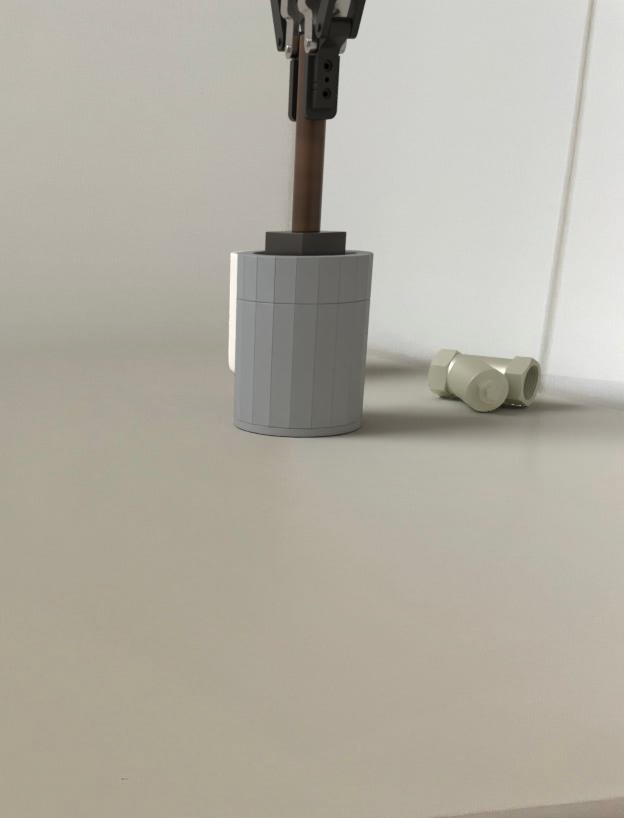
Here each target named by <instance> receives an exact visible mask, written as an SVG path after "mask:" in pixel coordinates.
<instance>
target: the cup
mask: <svg viewBox="0 0 624 818" xmlns="http://www.w3.org/2000/svg"><path fill="white" fill-rule="evenodd" d="M253 250H254V251H249V250H242V251H243V252H238V255H237V297H236V339H235V374H234V383H233V384H234V385H233V387H234V388H233V389H234V390H233V425H234V426H235V427H237V428H238V429H240V430H243V431H245V432H249V433H254V434H260V435H265V436H266V435H267V436H275V437H287V438H289V437H290V438H291V437H292V438H315V437H316V438H317V437H328V436H329V437H330V436H337V435H343V434H348V433H350V432H354V431H357V430H359V428H360V427H362V418H363V410H364V395H365V381H366V366H367V352H368V340H369V339H368V337H369V326H370V323H369V322H370V312H371V311H370V310H371V309H370V308H371V294H372V283H373V282H372V281H373V269H374V267H373V266H374V256H375V255H374V252H373V251H367V250H357V249H356V250H355V249H345V255H333V256H276V255H265V249H253Z"/></svg>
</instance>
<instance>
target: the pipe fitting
mask: <svg viewBox="0 0 624 818" xmlns="http://www.w3.org/2000/svg"><path fill="white" fill-rule="evenodd" d="M427 375H428V376H427V380H428V381H427V382H428V389H429V391H431V393H433V394H434V395H436V396H438V397H443V396H445V398H451V397H453V398H455V396H456V397H458V398H459V399H460V400H461V401H463V402H464V403H466V405H468V406H469V407H470V408H472V409H473V410H474V411H477V412H480V413H489V412H493V411H495V410H497V409H498V408H499V407H501V406H502V405H503V404H504V402H506V403H507V404H508V405H510V404H514V405H521V406H528V405H529V406H530V405H531V404H532V403H533V401H534V400H535V398H536V396H537V395H538V392H539V389H540V385H541V378H542V369H541V364H540V363H539V361H538V360H536V359H535V358H533V357H531V356H519V355H515V356H514V357H513V358H507V357H497V356H485V355H479V354H478V355H477V354H467V353H462V352H460V351H458V349H450V348H449V349H448V348H441V349H440V350H438V351H437V353H436V354H435V355H434V357H433V358H432V360H431V362H430V365H429V368H428V374H427ZM521 406H520V407H521ZM529 406H528V407H529ZM488 411H489V412H488Z"/></svg>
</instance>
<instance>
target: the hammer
mask: <svg viewBox="0 0 624 818" xmlns="http://www.w3.org/2000/svg"><path fill="white" fill-rule="evenodd" d="M304 38H305V34H303V35H300V44H299V67H298V90H297V113H296V122H295V136H294V137H295V139H294V140H295V141H294V162H293V182H292V183H293V185H292V186H293V187H292V207H291V208H292V210H291V230H274V231H273V230H272V231H266V232H265V236H264V237H265V238H264V250H265V255H276V256H333V255H345V250H347V248H346V247H347V231H342V230H321V227H322V226H321V225H322V209H323V207H322V205H323V188H324V169H325V154H326V153H325V150H326V131H327V120H307V119H305V118H304V117H303V115H302V97H303V75H304V56H307V55H311V53H306V52H305V48H304Z"/></svg>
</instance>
